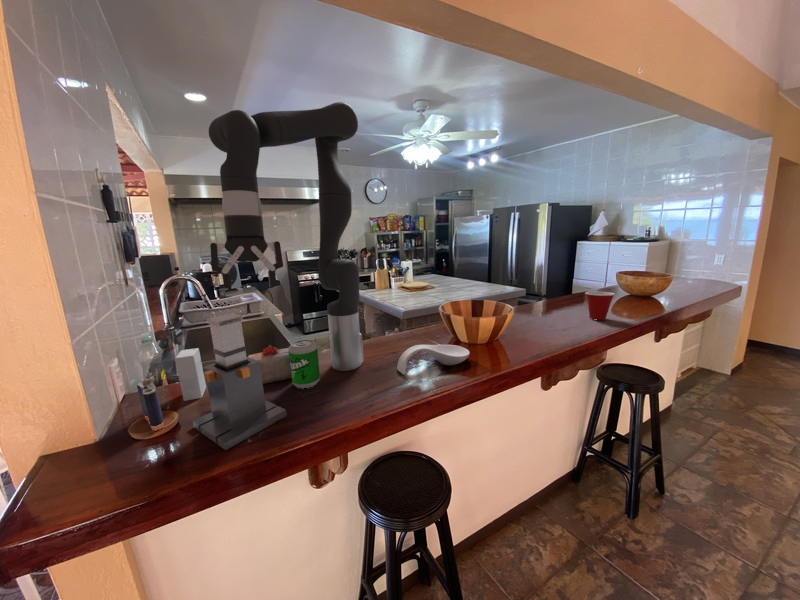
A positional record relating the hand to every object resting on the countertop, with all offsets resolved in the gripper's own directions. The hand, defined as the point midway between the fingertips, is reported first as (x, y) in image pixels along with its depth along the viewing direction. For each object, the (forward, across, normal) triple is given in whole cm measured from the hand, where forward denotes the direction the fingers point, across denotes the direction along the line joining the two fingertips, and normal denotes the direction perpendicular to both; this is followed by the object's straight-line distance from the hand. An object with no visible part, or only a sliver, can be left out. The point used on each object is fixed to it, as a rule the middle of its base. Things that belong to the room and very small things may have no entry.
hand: (251, 288), depth 72 cm
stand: (+30, +5, +3) cm, 30 cm away
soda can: (+29, -12, -8) cm, 32 cm away
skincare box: (+29, +16, -18) cm, 38 cm away
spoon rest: (+29, -49, +1) cm, 57 cm away
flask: (+30, +23, -8) cm, 38 cm away
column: (+30, +5, +3) cm, 30 cm away
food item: (+29, -4, -16) cm, 34 cm away
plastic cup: (+26, -136, -1) cm, 139 cm away
